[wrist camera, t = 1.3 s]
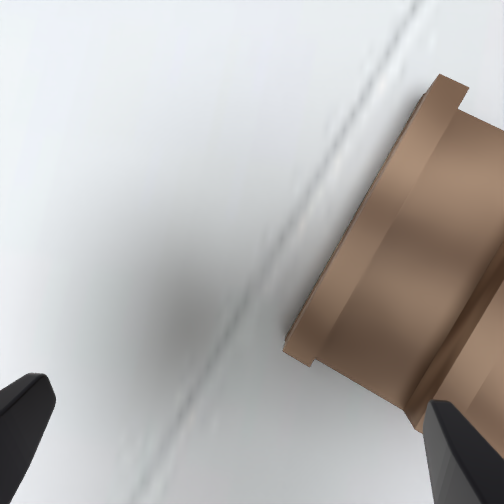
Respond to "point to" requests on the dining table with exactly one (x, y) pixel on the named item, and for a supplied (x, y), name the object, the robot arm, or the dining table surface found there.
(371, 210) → the wooden compartment tray
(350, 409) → the dining table surface
